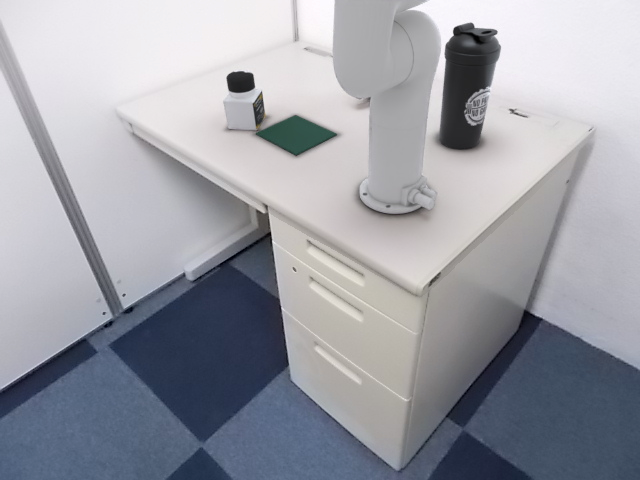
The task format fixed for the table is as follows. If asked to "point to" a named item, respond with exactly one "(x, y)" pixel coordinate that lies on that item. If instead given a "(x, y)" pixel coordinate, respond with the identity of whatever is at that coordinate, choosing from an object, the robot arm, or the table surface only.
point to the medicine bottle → (243, 102)
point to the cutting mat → (296, 134)
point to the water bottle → (467, 84)
